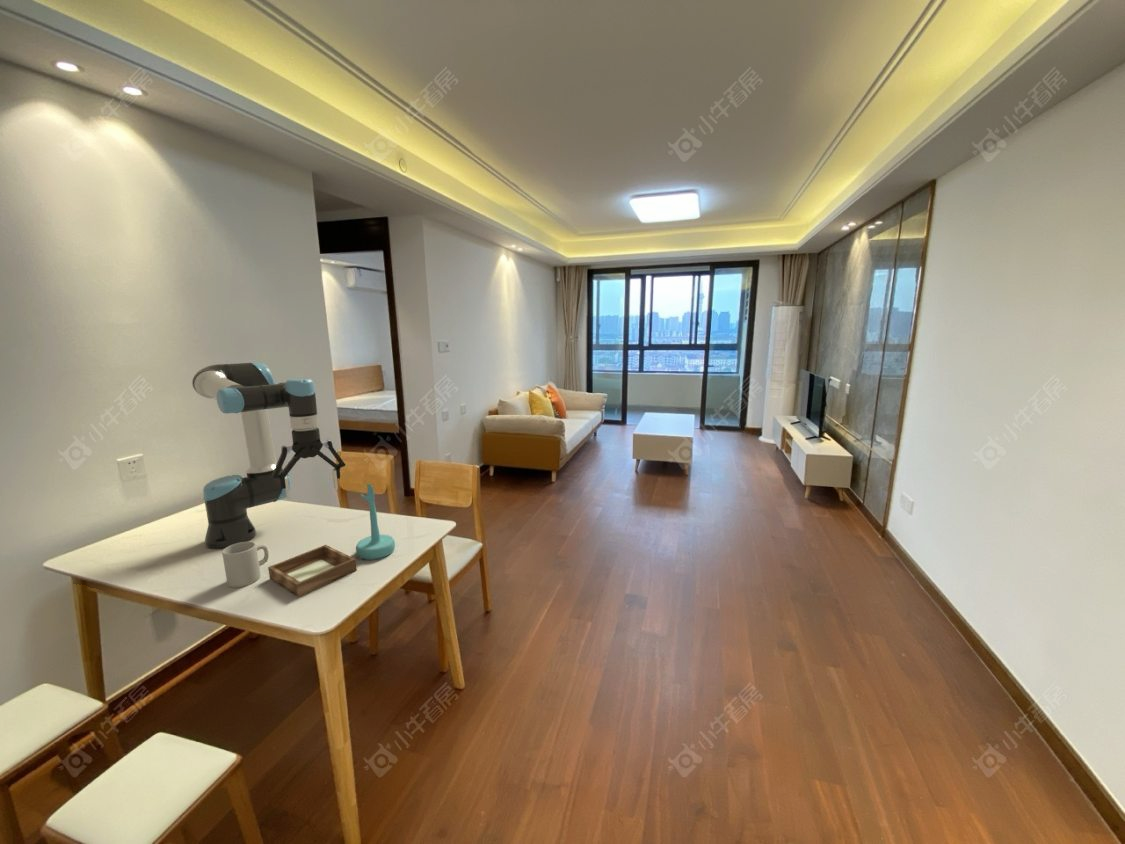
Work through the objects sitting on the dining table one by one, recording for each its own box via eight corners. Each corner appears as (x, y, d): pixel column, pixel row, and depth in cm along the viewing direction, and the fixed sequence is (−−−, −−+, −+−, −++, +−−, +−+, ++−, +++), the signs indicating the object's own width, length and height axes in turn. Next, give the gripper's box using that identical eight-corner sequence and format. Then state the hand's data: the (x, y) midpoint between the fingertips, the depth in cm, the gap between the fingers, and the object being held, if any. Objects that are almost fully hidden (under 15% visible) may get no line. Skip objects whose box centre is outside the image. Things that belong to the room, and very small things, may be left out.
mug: (236, 590, 133) (231, 556, 131) (221, 583, 137) (216, 550, 135) (277, 572, 143) (273, 540, 141) (262, 565, 147) (258, 534, 145)
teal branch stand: (377, 541, 164) (371, 476, 159) (402, 547, 159) (397, 481, 154) (348, 556, 153) (341, 487, 148) (374, 564, 148) (368, 492, 143)
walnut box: (269, 578, 139) (268, 567, 138) (326, 555, 154) (325, 544, 153) (298, 597, 129) (297, 584, 128) (356, 570, 144) (355, 558, 143)
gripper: (258, 436, 129) (267, 505, 133) (351, 425, 144) (357, 487, 148) (256, 431, 134) (265, 498, 139) (345, 421, 149) (351, 481, 154)
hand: (312, 493), depth 143 cm, fingers open, 13 cm apart
